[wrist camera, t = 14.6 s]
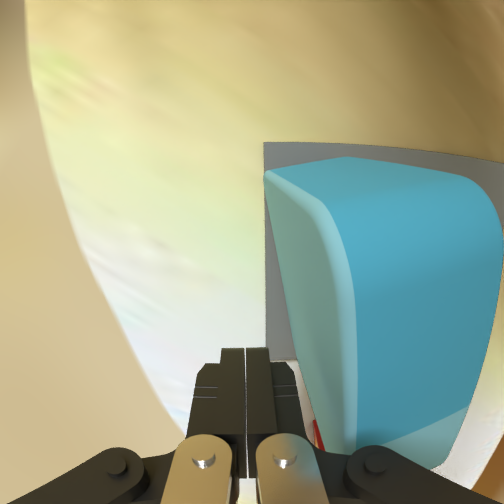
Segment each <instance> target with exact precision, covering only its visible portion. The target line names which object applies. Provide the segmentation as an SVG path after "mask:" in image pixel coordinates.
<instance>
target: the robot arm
mask: <svg viewBox="0 0 504 504" xmlns="http://www.w3.org/2000/svg"><path fill="white" fill-rule="evenodd" d="M246 412H247V450H248V469H249V478H256V500H257V504H502V503H500V502H497V501H495V500H492V499H490V498H488V497H485V496H483V495H481V494H478V493H476V492H474V491H472V490H469V489H467V488H465V487H463V486H461V485H459V484H457V483H454V482H452V481H450V480H448V479H446V478H444V477H442V476H440V475H438V474H436V473H434V472H432V471H430V470H428V469H426V468H425V467H423V466H421V465H419V464H417V463H415V462H413V461H411V460H409V459H408V458H406V457H404V456H402V455H400V454H399V453H397V452H395V451H393V450H391V449H389V448H387V447H384V446H380V445H369V446H364V447H362V448H360V449H358V450H356V451H355V452H354V453H353V454H352V455H345V454H337V453H330V452H326V451H323V450H321V449H319V448H317V447H316V446H314V445H313V444H312V443H311V442H310V441H309V439H308V438H307V436H306V433H305V428H304V423H303V417H302V412H301V407H300V401H299V396H298V391H297V386H296V380H295V375H294V371H293V370H292V369H291V368H290V367H289V366H288V364H287V363H286V362H270V356H269V348H268V347H259V348H246V378H245V353H244V348H222V350H221V359H220V364H217V363H206V364H205V365H204V366H203V367H202V369H201V370H200V371H199V372H198V374H197V378H196V384H195V389H194V395H193V401H192V406H191V412H190V418H189V423H188V429H187V435H186V438H185V440H184V441H183V442H181V443H180V444H179V445H178V447H177V449H176V450H174V451H173V452H170V453H168V454H165V455H160V456H155V457H147V458H140V457H139V456H138V455H137V454H136V453H135V452H133V451H131V450H129V449H126V448H119V447H118V448H110V449H107V450H104V451H102V452H101V453H99V454H97V455H96V456H94V457H92V458H91V459H89V460H87V461H86V462H84V463H82V464H80V465H79V466H77V467H75V468H74V469H72V470H70V471H68V472H67V473H65V474H63V475H61V476H59V477H58V478H56V479H54V480H52V481H50V482H49V483H47V484H45V485H43V486H41V487H39V488H38V489H35V490H33V491H32V492H30V493H28V494H26V495H24V496H22V497H20V498H18V499H16V500H14V501H12V502H10V503H7V504H238V497H239V478H247V454H246Z"/></svg>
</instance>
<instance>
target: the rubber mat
mask: <svg viewBox="0 0 504 504" xmlns="http://www.w3.org/2000/svg"><path fill="white" fill-rule="evenodd" d="M339 157H355V158H363V159H370V160H377V161H384V162H391V163H397V164H403V165H409V166H415V167H421V168H426V169H431V170H437V171H442V172H447V173H451V174H456V175H461V176H464V177H467V178H469V179H470V180H472V181H474V182H475V183H476V184H478V185H479V186H480V187H481V188H482V189H483V190H484V192H485V193H486V194H487V195H488V197H489V198H490V200H491V202H492V203H493V205H494V207H495V209H496V212H497V214H498V217H499V220H500V223H501V227H502V232H503V227H504V163H499V162H494V161H488V160H483V159H478V158H472V157H466V156H460V155H453V154H446V153H439V152H432V151H424V150H415V149H406V148H396V147H385V146H372V145H358V144H340V143H312V142H264V173H265V172H266V171H268V170H272V169H277V168H282V167H287V166H293V165H298V164H304V163H309V162H315V161H321V160H327V159H333V158H339ZM264 194H265V189H264ZM265 275H266V347H268V348H269V356H270V360H288V359H297V356H296V352H295V348H294V343H293V338H292V333H291V327H290V321H289V316H288V310H287V305H286V299H285V294H284V288H283V283H282V277H281V272H280V267H279V262H278V256H277V251H276V246H275V241H274V235H273V230H272V225H271V220H270V215H269V210H268V205H267V200H266V195H265Z"/></svg>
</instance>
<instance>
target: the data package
mask: <svg viewBox="0 0 504 504" xmlns="http://www.w3.org/2000/svg"><path fill="white" fill-rule="evenodd" d="M263 181H264V189H265V195H266V200H267V205H268V210H269V215H270V220H271V225H272V230H273V235H274V241H275V246H276V251H277V256H278V262H279V267H280V272H281V277H282V283H283V288H284V294H285V299H286V305H287V310H288V316H289V321H290V327H291V333H292V338H293V343H294V348H295V352H296V356H297V360H298V363H299V367H300V370H301V373H302V376H303V380H304V383H305V386H306V389H307V392H308V396H309V399H310V402H311V405H312V408H313V412H314V415H315V418H316V421H317V425H318V428H319V431H320V434H321V438H322V441H323V444H324V448H325V451H326V452H330V453H337V454H345V455H352V454H353V453H354V452H355V451H356V450H358V449H360V448H362V447H364V446H369V445H380V446H384V447H387V448H389V449H391V450H393V451H395V452H397V453H399V454H400V455H402V456H404V457H406V458H408V459H409V460H411V461H413V462H415V463H417V464H419V465H421V466H423V467H425V468H426V469H428V470H431V469H433V468H435V467H437V466H439V465H441V464H442V463H443V462H444V461H445V460H446V459H447V457H448V455H449V453H450V451H451V448H452V446H453V444H454V442H455V440H456V437H457V435H458V433H459V430H460V428H461V426H462V423H463V421H464V418H465V416H466V413H467V410H468V408H469V405H470V402H471V400H472V397H473V394H474V391H475V388H476V385H477V382H478V379H479V376H480V372H481V369H482V366H483V362H484V358H485V355H486V351H487V347H488V343H489V339H490V335H491V331H492V326H493V321H494V317H495V312H496V306H497V301H498V295H499V288H500V281H501V274H502V266H503V256H504V240H503V232H502V227H501V223H500V220H499V217H498V214H497V212H496V209H495V207H494V205H493V203H492V202H491V200H490V198H489V197H488V195H487V194H486V193H485V192H484V190H483V189H482V188H481V187H480V186H479V185H478V184H476V183H475V182H474V181H472V180H470V179H469V178H467V177H464V176H461V175H456V174H451V173H447V172H442V171H437V170H431V169H426V168H421V167H415V166H409V165H403V164H397V163H391V162H384V161H377V160H370V159H363V158H355V157H339V158H333V159H327V160H321V161H315V162H309V163H304V164H298V165H293V166H287V167H282V168H277V169H272V170H268V171H266V172H265V173H264V176H263Z"/></svg>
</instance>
